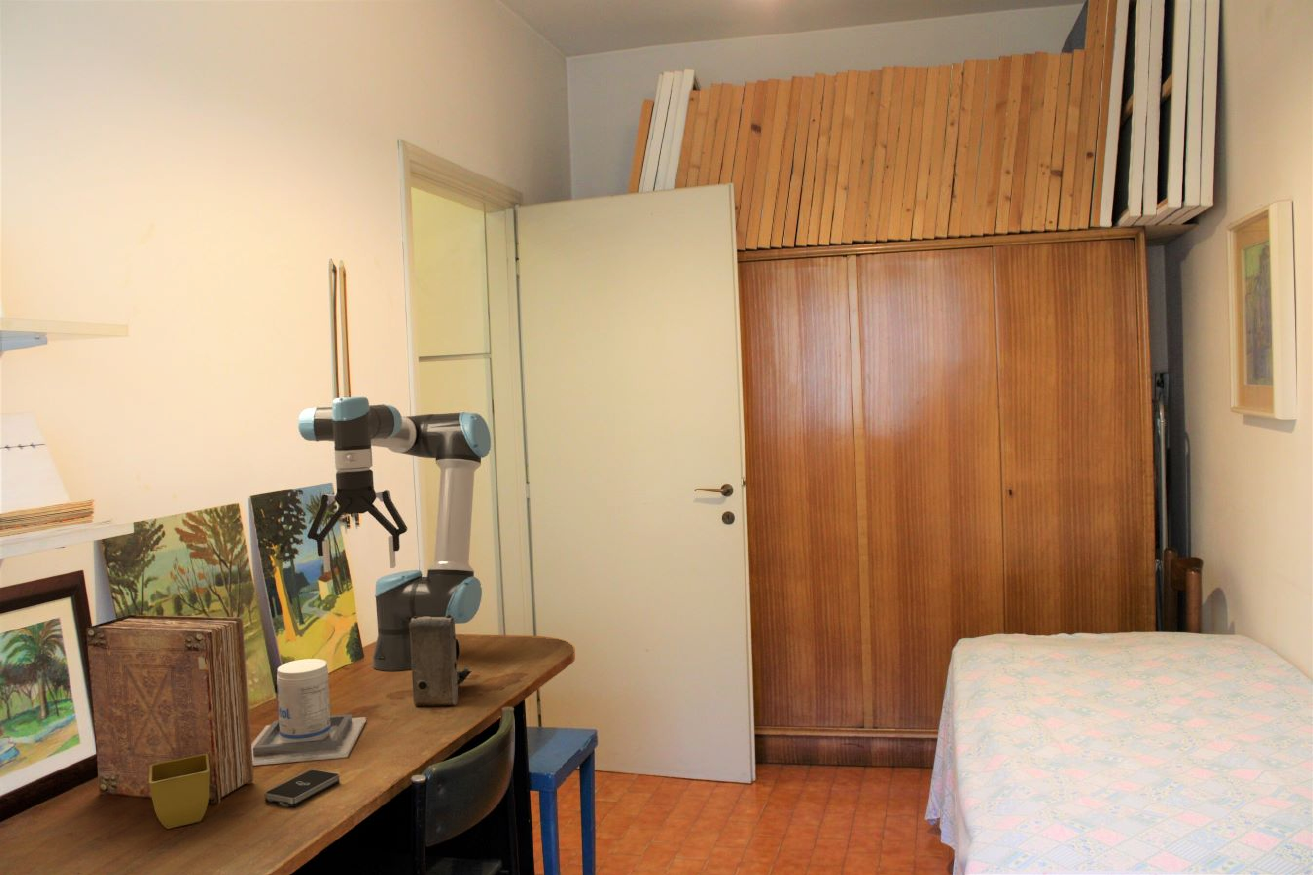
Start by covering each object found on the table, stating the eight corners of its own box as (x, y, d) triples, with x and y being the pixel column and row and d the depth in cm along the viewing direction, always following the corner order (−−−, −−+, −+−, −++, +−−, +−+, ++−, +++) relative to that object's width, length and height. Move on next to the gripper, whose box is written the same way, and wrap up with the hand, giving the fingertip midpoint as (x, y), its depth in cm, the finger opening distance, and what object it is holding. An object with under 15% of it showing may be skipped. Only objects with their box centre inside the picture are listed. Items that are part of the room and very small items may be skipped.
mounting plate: (266, 729, 198) (266, 717, 198) (365, 721, 201) (365, 709, 201) (237, 767, 178) (236, 753, 178) (347, 757, 181) (346, 743, 181)
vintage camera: (475, 687, 222) (470, 602, 222) (455, 707, 207) (449, 616, 207) (435, 688, 223) (430, 604, 223) (412, 708, 208) (406, 617, 208)
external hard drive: (263, 804, 162) (263, 793, 162) (312, 779, 172) (311, 768, 172) (294, 810, 159) (293, 798, 159) (342, 784, 169) (341, 773, 169)
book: (255, 783, 171) (244, 617, 169) (218, 805, 162) (206, 631, 160) (139, 773, 177) (128, 614, 176) (98, 794, 169) (86, 626, 167)
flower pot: (152, 838, 150) (148, 782, 150) (153, 817, 158) (149, 763, 158) (213, 824, 154) (209, 770, 154) (211, 804, 162) (208, 752, 162)
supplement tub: (271, 740, 189) (266, 667, 188) (315, 726, 196) (310, 655, 195) (296, 750, 183) (292, 675, 182) (341, 735, 190) (336, 662, 189)
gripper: (288, 474, 197) (295, 576, 198) (412, 467, 200) (417, 568, 201) (297, 471, 204) (303, 569, 205) (416, 465, 207) (422, 561, 208)
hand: (360, 569), depth 203 cm, fingers open, 13 cm apart
